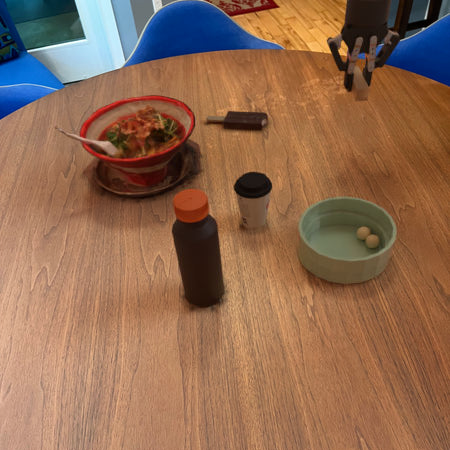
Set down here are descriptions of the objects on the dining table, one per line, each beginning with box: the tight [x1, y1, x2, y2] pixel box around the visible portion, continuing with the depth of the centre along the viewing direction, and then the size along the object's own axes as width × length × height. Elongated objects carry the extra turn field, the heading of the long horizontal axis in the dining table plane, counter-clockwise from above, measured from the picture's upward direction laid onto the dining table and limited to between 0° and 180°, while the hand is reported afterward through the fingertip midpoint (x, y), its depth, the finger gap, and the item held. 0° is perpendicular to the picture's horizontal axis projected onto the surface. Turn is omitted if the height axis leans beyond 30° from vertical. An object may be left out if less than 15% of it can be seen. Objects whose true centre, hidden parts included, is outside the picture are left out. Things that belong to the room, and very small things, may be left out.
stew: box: [54, 94, 202, 200], centre depth 99 cm, size 28×24×16 cm
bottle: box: [171, 188, 225, 308], centre depth 74 cm, size 7×7×20 cm
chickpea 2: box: [366, 235, 380, 248], centre depth 84 cm, size 2×2×2 cm
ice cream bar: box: [205, 110, 269, 131], centre depth 116 cm, size 5×2×15 cm
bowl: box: [296, 196, 398, 285], centre depth 83 cm, size 16×16×6 cm
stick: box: [350, 65, 370, 102], centre depth 94 cm, size 2×9×2 cm, turn 3°
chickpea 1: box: [357, 227, 371, 240], centre depth 86 cm, size 2×2×2 cm
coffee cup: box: [233, 171, 273, 230], centre depth 89 cm, size 7×7×10 cm
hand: (356, 89), depth 95 cm, fingers closed on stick, 2 cm apart
